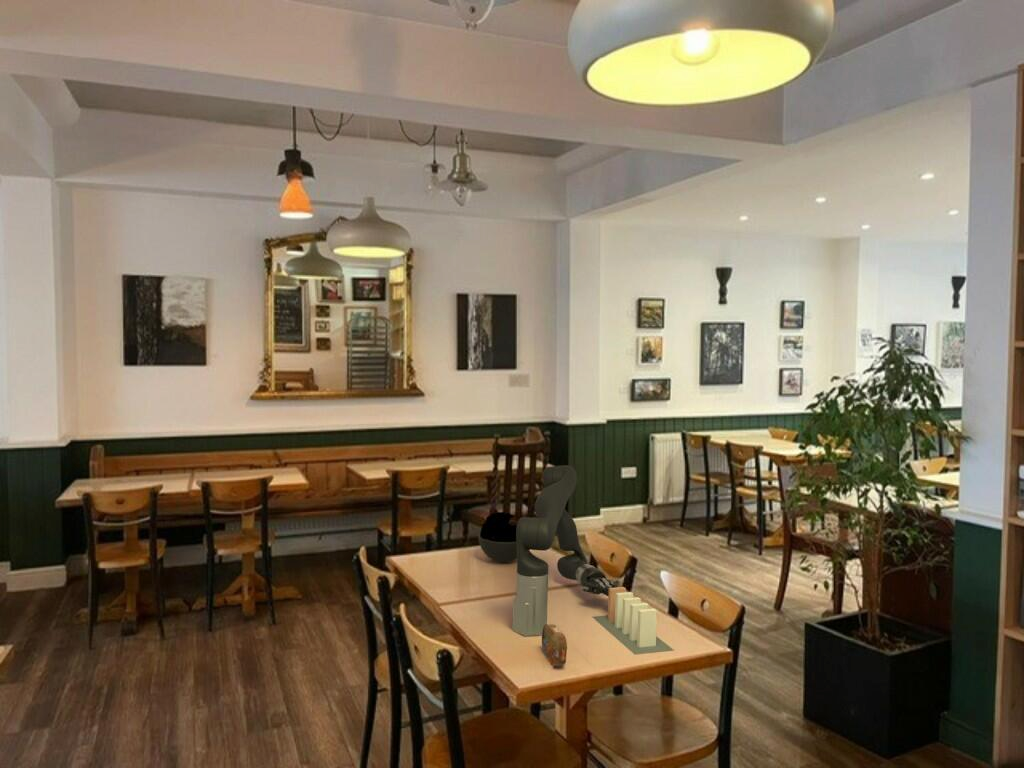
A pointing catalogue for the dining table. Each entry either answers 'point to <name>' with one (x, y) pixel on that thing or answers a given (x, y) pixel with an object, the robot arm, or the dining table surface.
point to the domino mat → (626, 641)
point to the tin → (554, 645)
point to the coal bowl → (499, 538)
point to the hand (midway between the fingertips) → (612, 594)
